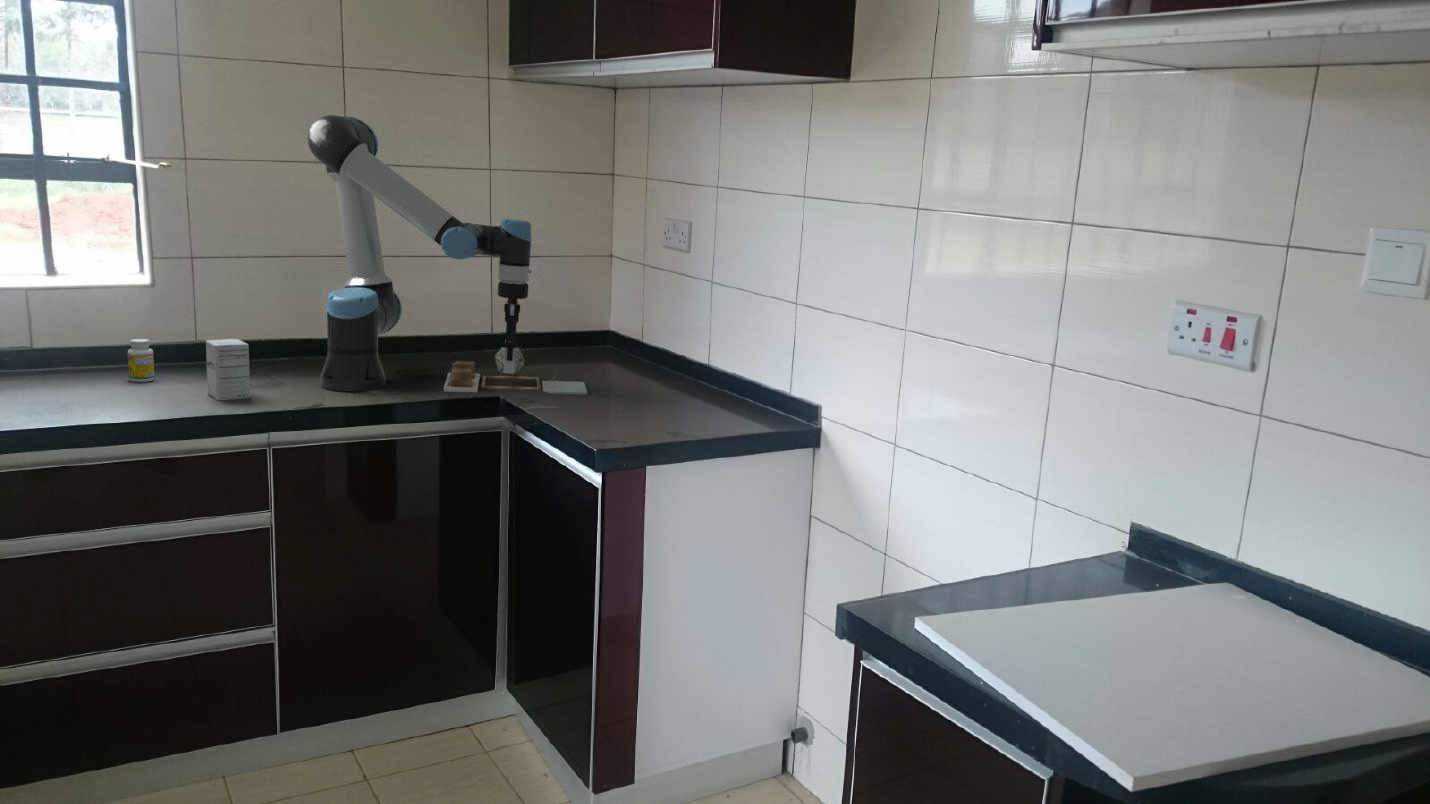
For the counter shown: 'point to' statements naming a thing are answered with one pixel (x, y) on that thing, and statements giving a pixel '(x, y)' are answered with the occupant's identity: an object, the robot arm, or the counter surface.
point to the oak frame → (511, 387)
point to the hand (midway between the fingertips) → (508, 369)
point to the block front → (461, 378)
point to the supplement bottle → (140, 361)
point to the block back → (465, 366)
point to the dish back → (477, 378)
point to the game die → (500, 360)
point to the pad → (564, 387)
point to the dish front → (461, 389)
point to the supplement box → (228, 369)
